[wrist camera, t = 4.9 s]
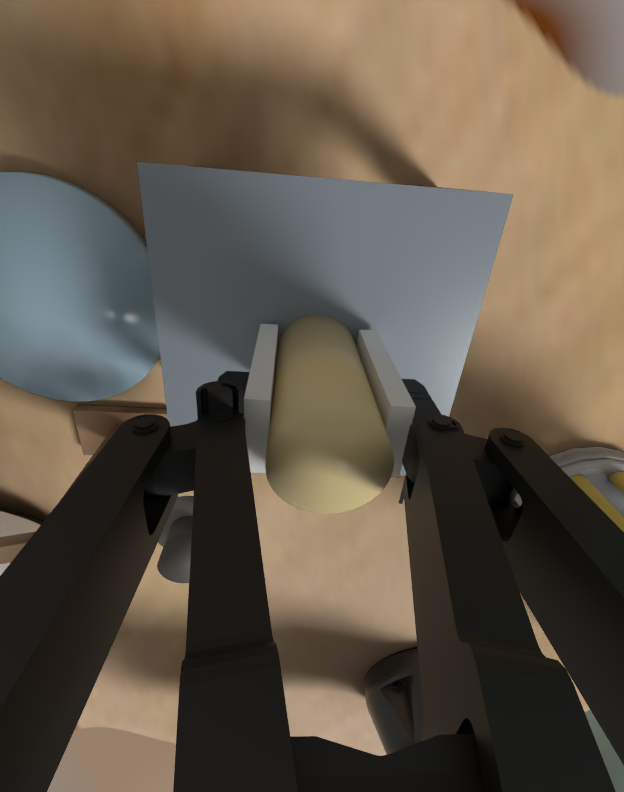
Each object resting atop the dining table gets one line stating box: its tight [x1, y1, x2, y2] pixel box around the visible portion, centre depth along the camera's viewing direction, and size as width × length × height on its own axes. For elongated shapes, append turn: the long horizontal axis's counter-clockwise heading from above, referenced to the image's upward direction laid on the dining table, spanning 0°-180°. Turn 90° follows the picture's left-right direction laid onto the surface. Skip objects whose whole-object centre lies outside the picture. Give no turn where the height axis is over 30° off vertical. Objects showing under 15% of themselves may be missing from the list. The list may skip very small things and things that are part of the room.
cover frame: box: [137, 162, 513, 514], centre depth 18 cm, size 14×14×17 cm
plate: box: [0, 172, 160, 402], centre depth 25 cm, size 14×14×1 cm
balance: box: [0, 405, 194, 583], centre depth 25 cm, size 18×4×13 cm, turn 86°
